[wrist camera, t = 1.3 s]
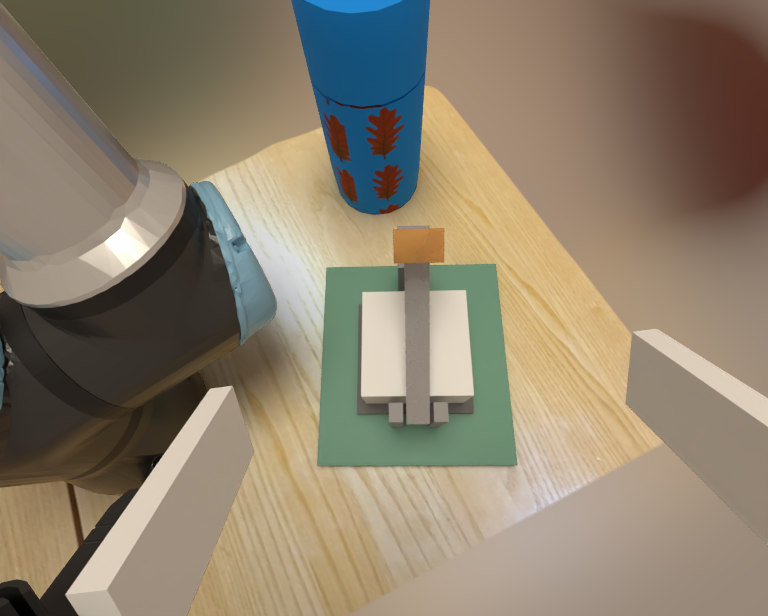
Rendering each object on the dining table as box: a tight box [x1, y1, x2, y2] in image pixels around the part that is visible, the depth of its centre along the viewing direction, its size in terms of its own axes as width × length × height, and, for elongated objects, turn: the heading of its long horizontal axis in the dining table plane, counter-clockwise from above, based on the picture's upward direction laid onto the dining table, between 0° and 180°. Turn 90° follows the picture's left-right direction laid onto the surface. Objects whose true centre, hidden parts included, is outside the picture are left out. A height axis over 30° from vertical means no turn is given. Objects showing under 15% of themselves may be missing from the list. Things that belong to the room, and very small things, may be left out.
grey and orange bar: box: [393, 228, 444, 424], centre depth 32 cm, size 4×16×4 cm
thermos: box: [291, 0, 430, 214], centre depth 41 cm, size 11×11×25 cm
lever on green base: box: [317, 226, 517, 466], centre depth 39 cm, size 20×22×11 cm
